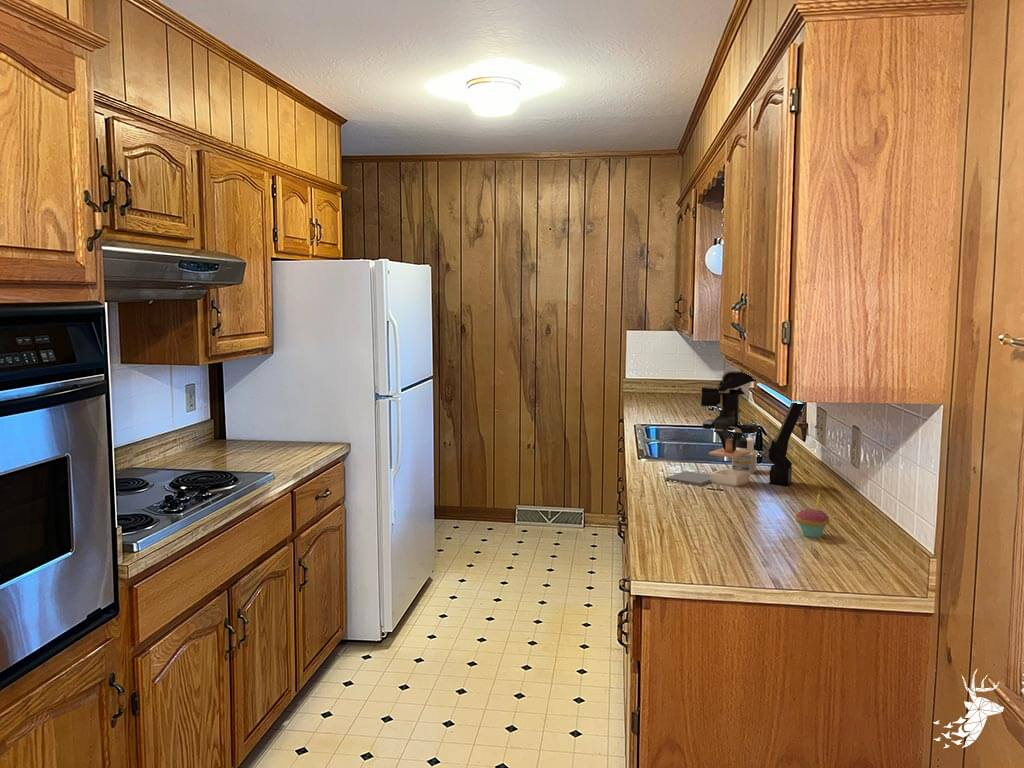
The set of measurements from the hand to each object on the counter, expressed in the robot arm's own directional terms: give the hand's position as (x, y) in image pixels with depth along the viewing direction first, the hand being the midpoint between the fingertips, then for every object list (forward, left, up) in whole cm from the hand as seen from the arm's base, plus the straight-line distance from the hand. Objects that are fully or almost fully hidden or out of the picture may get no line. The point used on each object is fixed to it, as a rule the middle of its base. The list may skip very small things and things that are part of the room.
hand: (729, 450), depth 270 cm
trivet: (+12, +5, -12) cm, 17 cm away
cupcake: (-46, +44, -12) cm, 65 cm away
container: (+4, -20, -12) cm, 24 cm away
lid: (0, 0, -1) cm, 1 cm away
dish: (0, 0, -12) cm, 12 cm away
